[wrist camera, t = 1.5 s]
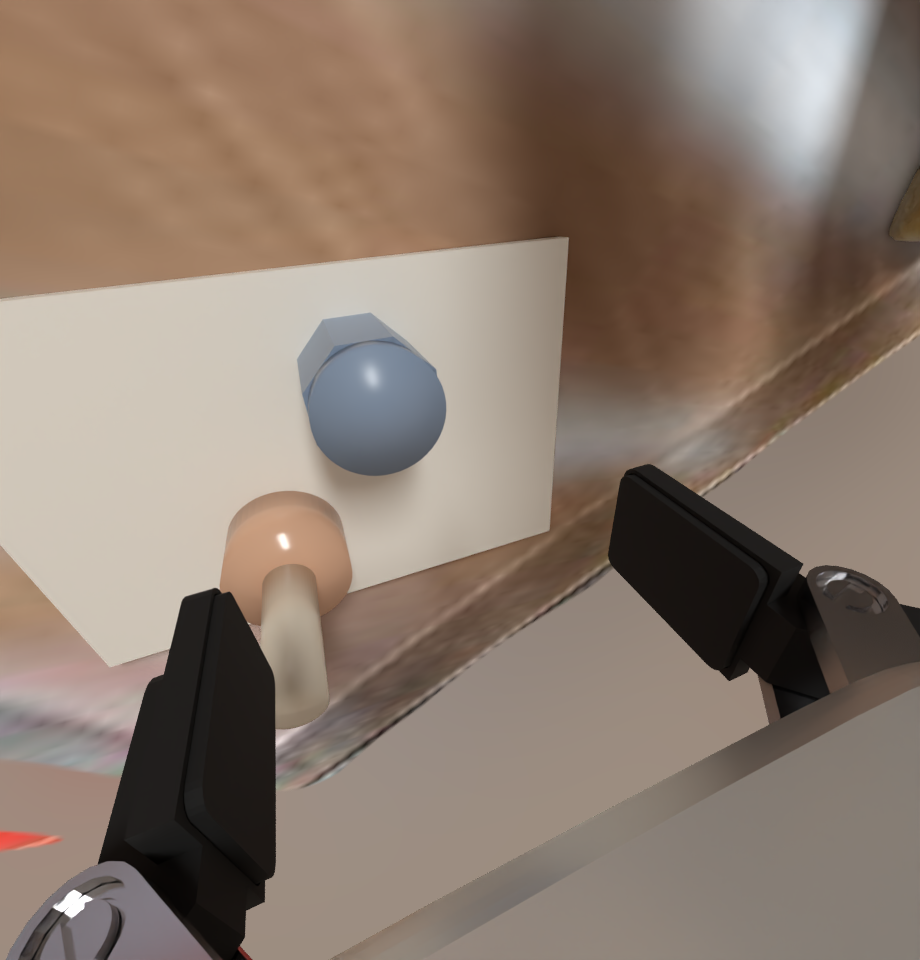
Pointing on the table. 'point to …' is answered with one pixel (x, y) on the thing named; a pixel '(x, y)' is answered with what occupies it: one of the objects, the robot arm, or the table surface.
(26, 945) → the robot arm
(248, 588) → the round stamp handle
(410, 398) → the cap
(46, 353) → the board
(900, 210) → the pastry
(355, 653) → the table surface
